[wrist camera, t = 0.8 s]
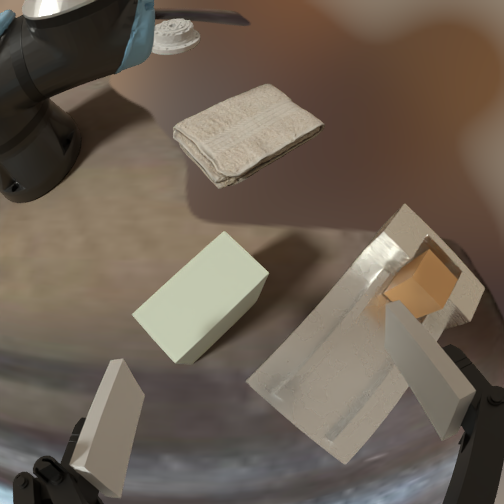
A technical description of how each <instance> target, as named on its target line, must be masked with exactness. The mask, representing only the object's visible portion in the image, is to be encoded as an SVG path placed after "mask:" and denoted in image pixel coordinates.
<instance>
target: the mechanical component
mask: <svg viewBox="0 0 504 504" xmlns="http://www.w3.org/2000/svg"><path fill="white" fill-rule="evenodd" d="M199 42H200V34H199V32H198V31H196V30H195V29H193V23H191V22H190V20H188V21H187V20H184V19H172V20H169V21H163V23H161V24H157V25H156V26H155V30H154V42H153V48H152V52H153V53H156V54H161V55H172V54H179V53H183V52H186V51H188V50H191V49H193V48H194V47H196V46H197V45H198V44H199Z"/></svg>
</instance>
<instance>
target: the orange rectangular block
mask: <svg viewBox="0 0 504 504" xmlns="http://www.w3.org/2000/svg"><path fill="white" fill-rule="evenodd" d="M457 280H458V279H457V278H456V277H455V276H454V275H453V274H452V272H451V271H450V270H449V269H448V268H447V267H446V266H445V265H444V264H443V263H442V262H441V261H440V260H439V259H438V258H437V256H436V255H435V254H434V253H433V252H432V251H431V250H430V249H428V250H427V251H425V252H424V253H423V254H421V255H420V256H418V257H417V258H415V259H414V260H412V261H411V262H409V263H408V264H406V265H405V266H403V267H402V268H401V269H400V270H399V272H398V273H397V275H396V276H395V278H394V279H393V280H392V282H391V283H390V285H389V286H388V288H387V289H386V290H385V292H384V294H385V295H386V296H387V297H388V298H389V299H390V300H391V301H392V302H394V301H397V300H400V301H401V302H402V303H403V304H404V306H405V307H406V308H407V309H408V310H409V311H410V312H411V313H412V314H413V316H414V317H415V318H419V317H422V316H425V315H427V314H430V313H433V312H436V311H438V310H441V309H443V307H444V305H445V304H446V302H447V300H448V298H449V296H450V294H451V292H452V290H453V288H454V286H455V284H456V282H457Z"/></svg>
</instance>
